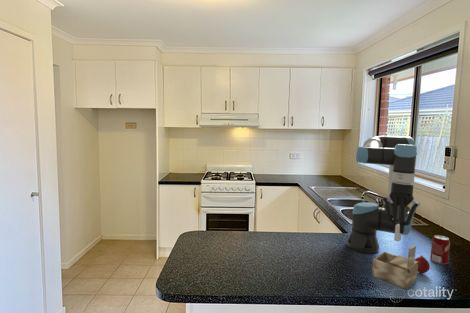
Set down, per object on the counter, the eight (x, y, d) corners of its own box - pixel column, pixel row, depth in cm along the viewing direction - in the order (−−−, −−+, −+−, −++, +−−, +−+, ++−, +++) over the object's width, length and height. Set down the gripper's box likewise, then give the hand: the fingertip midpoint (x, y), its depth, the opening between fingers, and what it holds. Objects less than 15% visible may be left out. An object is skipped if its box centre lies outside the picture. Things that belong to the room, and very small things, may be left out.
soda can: (440, 266, 126) (443, 240, 125) (426, 259, 133) (429, 235, 131) (451, 264, 128) (454, 239, 127) (437, 258, 134) (439, 234, 133)
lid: (389, 263, 111) (391, 245, 110) (398, 256, 118) (400, 239, 117) (409, 270, 106) (411, 251, 105) (417, 262, 112) (419, 244, 112)
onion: (422, 270, 122) (424, 252, 121) (432, 277, 116) (434, 258, 115) (409, 270, 121) (411, 252, 121) (418, 276, 116) (420, 258, 115)
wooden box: (371, 275, 115) (373, 258, 115) (383, 266, 123) (384, 250, 123) (408, 290, 105) (409, 271, 105) (418, 279, 113) (419, 262, 113)
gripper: (381, 181, 113) (376, 237, 115) (418, 186, 104) (412, 247, 105) (388, 179, 118) (384, 233, 120) (424, 184, 108) (418, 243, 110)
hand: (397, 240), depth 113 cm, fingers closed
